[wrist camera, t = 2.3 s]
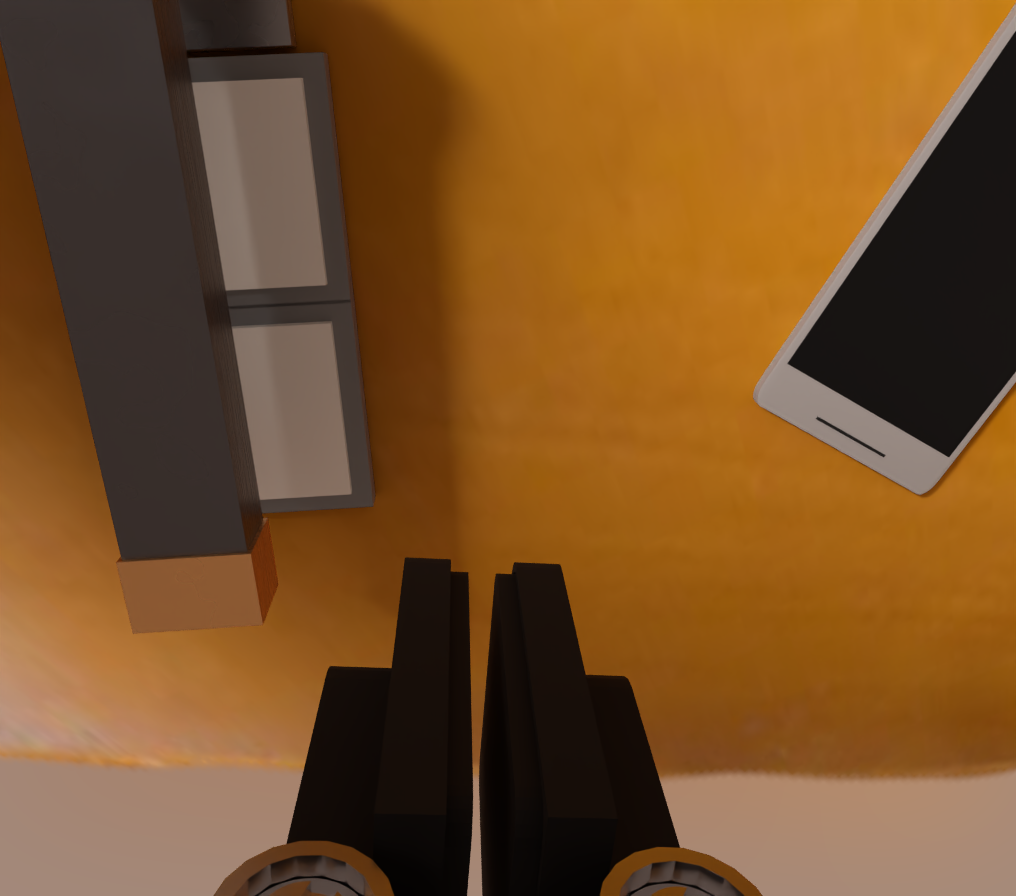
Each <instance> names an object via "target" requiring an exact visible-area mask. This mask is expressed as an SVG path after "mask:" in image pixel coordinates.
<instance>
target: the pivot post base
mask: <svg viewBox="0 0 1016 896" xmlns="http://www.w3.org/2000/svg"><path fill="white" fill-rule="evenodd" d="M179 7H180V13H181V19H182V25H183V31H184V37H185V43H186V50H187V52H199V51H222V50H246V49H269V48H292V47H297V46H296V38H295V30H294V21H293V13H292V5H291V0H179Z"/></svg>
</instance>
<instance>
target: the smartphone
mask: <svg viewBox="0 0 1016 896" xmlns="http://www.w3.org/2000/svg"><path fill="white" fill-rule="evenodd" d="M1015 382H1016V4H1015V5H1014V7H1013V8H1012V10H1011V11H1010V13H1009V14H1008V16H1007V17H1006V18H1005V20H1004V21H1003V23H1002V24H1001V26H1000V27H999V29H998V30H997V32H996V33H995V35H994V36H993V38H992V39H991V40H990V42H989V43H988V45H987V46H986V48H985V49H984V51H983V52H982V54H981V55H980V57H979V58H978V60H977V61H976V63H975V64H974V65H973V67H972V68H971V70H970V71H969V73H968V74H967V76H966V77H965V79H964V80H963V82H962V83H961V85H960V86H959V87H958V89H957V90H956V92H955V93H954V95H953V96H952V98H951V99H950V101H949V102H948V104H947V105H946V107H945V108H944V109H943V111H942V112H941V114H940V115H939V117H938V118H937V120H936V121H935V123H934V124H933V126H932V127H931V129H930V130H929V131H928V133H927V134H926V136H925V137H924V139H923V140H922V142H921V143H920V145H919V146H918V148H917V149H916V151H915V152H914V153H913V155H912V156H911V158H910V159H909V161H908V162H907V164H906V165H905V167H904V168H903V170H902V171H901V173H900V174H899V176H898V177H897V178H896V180H895V181H894V183H893V184H892V186H891V187H890V189H889V190H888V192H887V193H886V195H885V196H884V198H883V199H882V200H881V202H880V203H879V205H878V206H877V208H876V209H875V211H874V212H873V214H872V215H871V217H870V218H869V220H868V221H867V222H866V224H865V225H864V227H863V228H862V230H861V231H860V233H859V234H858V236H857V237H856V239H855V240H854V242H853V243H852V244H851V246H850V247H849V249H848V250H847V252H846V253H845V255H844V256H843V258H842V259H841V261H840V262H839V264H838V265H837V266H836V268H835V269H834V271H833V272H832V274H831V275H830V277H829V278H828V280H827V281H826V283H825V284H824V286H823V287H822V288H821V290H820V291H819V293H818V294H817V296H816V297H815V299H814V300H813V302H812V303H811V305H810V306H809V308H808V309H807V311H806V312H805V313H804V315H803V316H802V318H801V319H800V321H799V322H798V324H797V325H796V327H795V328H794V330H793V331H792V333H791V334H790V335H789V337H788V338H787V340H786V341H785V343H784V344H783V346H782V347H781V349H780V350H779V352H778V353H777V355H776V356H775V357H774V359H773V360H772V362H771V363H770V365H769V366H768V368H767V369H766V371H765V372H764V374H763V375H762V377H761V378H760V380H759V381H758V383H757V385H756V387H755V390H754V393H753V399H754V400H755V402H756V403H757V404H758V405H759V406H761V407H763V408H765V409H766V410H768V411H770V412H772V413H773V414H775V415H777V416H779V417H781V418H782V419H784V420H786V421H788V422H789V423H791V424H793V425H795V426H797V427H798V428H800V429H802V430H804V431H805V432H807V433H809V434H811V435H813V436H814V437H816V438H818V439H820V440H822V441H823V442H825V443H827V444H829V445H830V446H832V447H834V448H836V449H838V450H839V451H841V452H843V453H845V454H846V455H848V456H850V457H852V458H854V459H855V460H857V461H859V462H861V463H862V464H864V465H866V466H868V467H870V468H871V469H873V470H875V471H877V472H878V473H880V474H882V475H884V476H886V477H887V478H889V479H891V480H893V481H894V482H896V483H898V484H900V485H902V486H903V487H905V488H907V489H909V490H911V491H912V492H914V493H916V494H920V495H921V494H924V493H926V492H927V491H929V490H930V489H931V488H932V487H933V486H934V485H935V484H936V483H937V482H938V481H939V480H940V478H941V477H942V476H943V474H944V473H945V472H946V471H947V469H948V468H949V467H950V465H951V464H952V463H953V462H954V460H955V459H956V458H957V457H958V455H959V454H960V453H961V451H962V450H963V449H964V448H965V446H966V445H967V444H968V442H969V441H970V440H971V439H972V437H973V436H974V435H975V434H976V432H977V431H978V430H979V428H980V427H981V426H982V425H983V423H984V422H985V421H986V419H987V418H988V417H989V416H990V414H991V413H992V412H993V411H994V409H995V408H996V407H997V405H998V404H999V403H1000V402H1001V400H1002V399H1003V398H1004V396H1005V395H1006V394H1007V393H1008V391H1009V390H1010V389H1011V388H1012V386H1013V385H1014V384H1015Z"/></svg>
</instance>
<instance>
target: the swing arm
mask: <svg viewBox="0 0 1016 896" xmlns="http://www.w3.org/2000/svg"><path fill="white" fill-rule="evenodd" d="M0 41H1V46H2V50H3V54H4V58H5V63H6V67H7V71H8V76H9V80H10V84H11V88H12V93H13V97H14V101H15V105H16V110H17V114H18V118H19V123H20V127H21V131H22V135H23V140H24V144H25V148H26V152H27V157H28V161H29V165H30V170H31V174H32V178H33V182H34V187H35V191H36V195H37V199H38V204H39V208H40V212H41V217H42V221H43V225H44V229H45V234H46V238H47V242H48V246H49V251H50V255H51V259H52V264H53V268H54V272H55V276H56V281H57V285H58V289H59V293H60V298H61V302H62V306H63V311H64V315H65V319H66V323H67V328H68V332H69V336H70V340H71V345H72V349H73V353H74V358H75V362H76V366H77V370H78V375H79V379H80V383H81V387H82V392H83V396H84V400H85V405H86V409H87V413H88V417H89V422H90V426H91V430H92V434H93V439H94V443H95V447H96V452H97V456H98V460H99V464H100V469H101V473H102V477H103V481H104V486H105V490H106V494H107V499H108V503H109V507H110V511H111V516H112V520H113V524H114V528H115V533H116V537H117V541H118V546H119V550H120V554H121V557H120V558H119V560H118V561H117V562H116V564H117V568H118V572H119V576H120V581H121V585H122V589H123V593H124V598H125V602H126V606H127V610H128V614H129V619H130V623H131V627H132V631H133V634H134V633H149V632H164V631H180V630H195V629H210V628H225V627H240V626H255V625H263V623H264V621H265V618H266V616H267V613H268V610H269V608H270V605H271V602H272V600H273V597H274V595H275V592H276V589H277V587H278V578H277V572H276V566H275V560H274V553H273V547H272V541H271V535H270V528H269V522H268V518H263V516H262V510H261V503H260V497H259V491H258V485H257V479H256V473H255V467H254V460H253V454H252V448H251V442H250V436H249V430H248V424H247V418H246V411H245V405H244V399H243V393H242V387H241V381H240V375H239V368H238V362H237V356H236V350H235V344H234V338H233V332H232V326H231V319H230V313H229V307H228V301H227V295H226V289H225V283H224V276H223V270H222V264H221V258H220V252H219V246H218V240H217V234H216V227H215V221H214V215H213V209H212V203H211V197H210V191H209V184H208V178H207V172H206V166H205V160H204V154H203V148H202V142H201V135H200V129H199V123H198V117H197V111H196V105H195V99H194V92H193V86H192V80H191V74H190V68H189V62H188V56H187V50H186V43H185V37H184V31H183V25H182V19H181V13H180V7H179V0H0Z"/></svg>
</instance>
